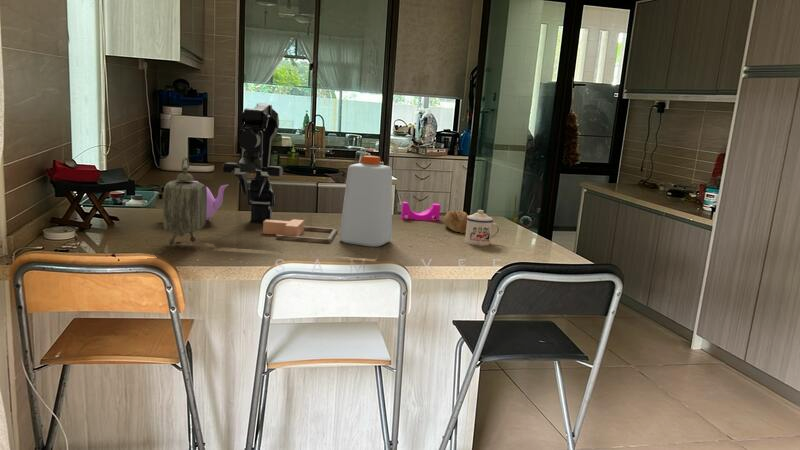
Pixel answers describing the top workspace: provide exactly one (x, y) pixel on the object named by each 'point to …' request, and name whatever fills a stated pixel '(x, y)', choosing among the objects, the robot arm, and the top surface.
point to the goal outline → (310, 239)
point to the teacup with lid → (479, 229)
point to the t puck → (283, 227)
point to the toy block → (423, 215)
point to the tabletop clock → (184, 205)
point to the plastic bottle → (367, 204)
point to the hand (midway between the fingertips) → (252, 195)
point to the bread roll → (456, 221)
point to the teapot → (213, 201)
